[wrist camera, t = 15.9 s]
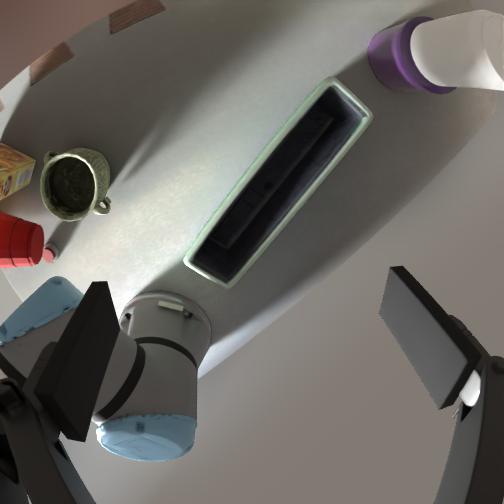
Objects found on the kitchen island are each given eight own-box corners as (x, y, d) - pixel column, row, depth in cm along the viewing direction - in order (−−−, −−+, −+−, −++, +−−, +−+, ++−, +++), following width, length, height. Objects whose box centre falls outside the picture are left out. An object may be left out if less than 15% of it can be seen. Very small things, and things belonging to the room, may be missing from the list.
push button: (57, 243, 41) (53, 247, 40) (60, 260, 43) (57, 265, 41) (42, 242, 41) (38, 247, 40) (46, 260, 42) (42, 264, 41)
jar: (425, 98, 36) (463, 101, 28) (366, 87, 36) (400, 85, 28) (424, 37, 32) (462, 30, 24) (365, 21, 31) (397, 6, 23)
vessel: (43, 172, 36) (20, 183, 31) (76, 123, 34) (54, 128, 29) (99, 225, 41) (83, 244, 35) (136, 181, 39) (123, 194, 33)
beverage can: (452, 28, 24) (522, 19, 13) (462, 88, 28) (534, 96, 17) (401, 19, 24) (470, -2, 13) (412, 84, 28) (486, 87, 17)
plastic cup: (53, 216, 43) (-4, 211, 39) (32, 198, 33) (-32, 194, 29) (45, 283, 42) (-12, 274, 38) (21, 282, 31) (-44, 271, 28)
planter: (228, 265, 45) (229, 292, 39) (186, 238, 43) (180, 263, 37) (353, 113, 37) (377, 116, 31) (313, 77, 35) (331, 72, 28)
